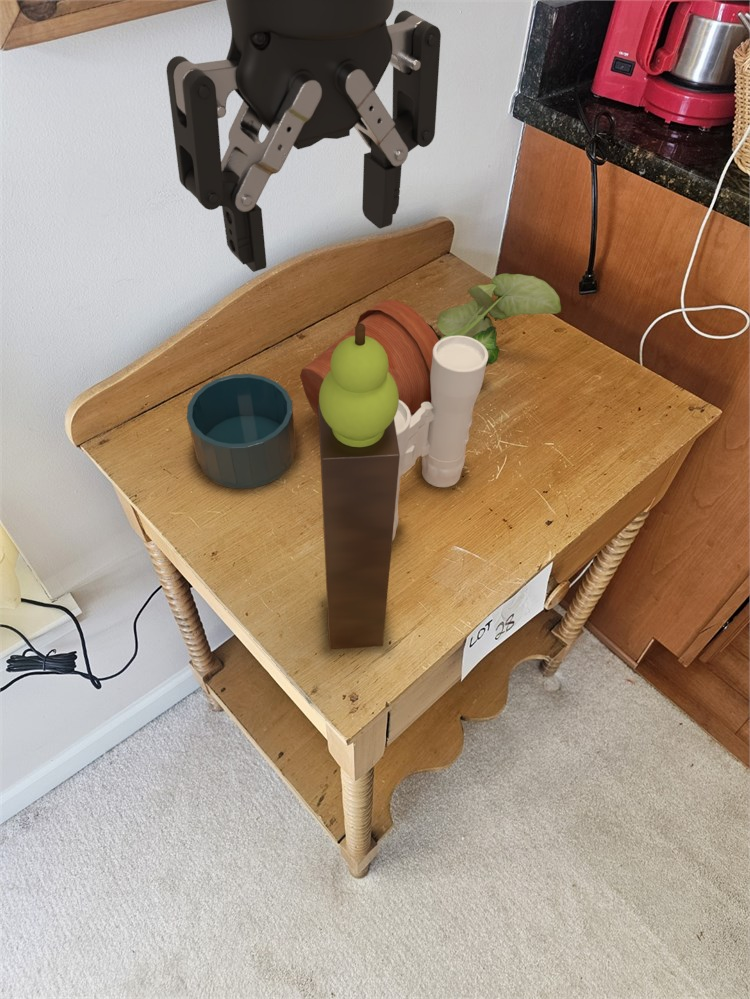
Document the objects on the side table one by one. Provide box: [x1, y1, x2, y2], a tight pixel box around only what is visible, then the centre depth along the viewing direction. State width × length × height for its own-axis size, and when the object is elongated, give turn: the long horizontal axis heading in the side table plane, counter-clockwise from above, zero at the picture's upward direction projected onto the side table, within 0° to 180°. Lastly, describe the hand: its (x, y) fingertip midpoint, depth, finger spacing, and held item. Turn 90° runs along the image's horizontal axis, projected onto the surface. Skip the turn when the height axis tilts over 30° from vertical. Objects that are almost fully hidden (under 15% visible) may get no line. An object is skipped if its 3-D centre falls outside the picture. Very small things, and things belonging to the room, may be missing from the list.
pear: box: [319, 323, 399, 447], centre depth 44 cm, size 5×5×9 cm
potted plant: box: [299, 272, 562, 420], centre depth 87 cm, size 16×15×35 cm
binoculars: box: [392, 335, 488, 542], centre depth 73 cm, size 17×5×18 cm, turn 138°
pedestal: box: [318, 404, 400, 651], centre depth 59 cm, size 5×5×28 cm
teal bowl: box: [186, 373, 297, 490], centre depth 81 cm, size 12×12×7 cm
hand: (316, 241), depth 41 cm, fingers open, 8 cm apart
